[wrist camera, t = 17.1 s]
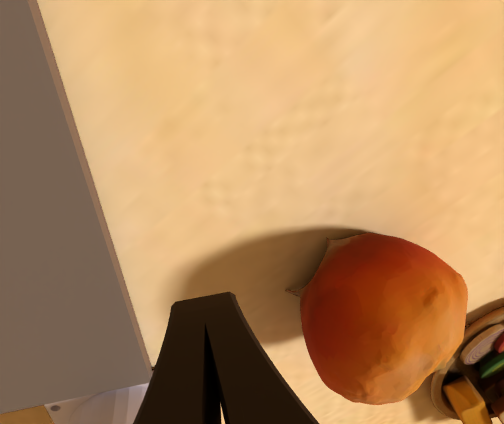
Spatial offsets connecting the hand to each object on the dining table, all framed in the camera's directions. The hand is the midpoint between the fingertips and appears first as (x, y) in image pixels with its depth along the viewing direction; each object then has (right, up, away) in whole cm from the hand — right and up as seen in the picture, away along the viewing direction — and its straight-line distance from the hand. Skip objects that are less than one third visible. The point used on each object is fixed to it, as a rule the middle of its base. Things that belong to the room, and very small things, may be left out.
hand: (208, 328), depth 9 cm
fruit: (+7, -1, +13) cm, 15 cm away
